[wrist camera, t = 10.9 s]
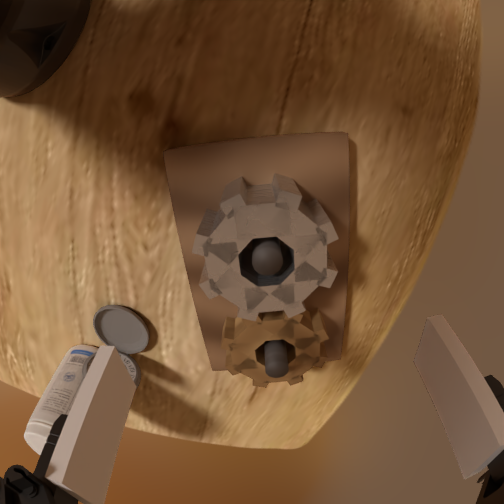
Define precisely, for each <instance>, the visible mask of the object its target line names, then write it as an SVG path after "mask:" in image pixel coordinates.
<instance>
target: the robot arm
mask: <svg viewBox="0 0 504 504" xmlns="http://www.w3.org/2000/svg"><path fill="white" fill-rule="evenodd" d="M90 1H91V0H0V98H1V97H12V96H19V95H22V94H25V93H28V92H30V91H32V90H33V89H35V88H37V87H38V86H39V85H41V84H42V83H43V82H45V81H46V80H47V79H48V78H49V77H50V76H51V75H52V74H53V73H54V72H55V71H56V70H57V69H58V68H59V66H60V65H61V64H62V63H63V61H64V60H65V59H66V57H67V56H68V55H69V53H70V52H71V50H72V48H73V47H74V45H75V43H76V41H77V40H78V38H79V36H80V33H81V31H82V29H83V27H84V24H85V21H86V18H87V15H88V12H89V7H90ZM414 364H415V366H416V368H417V370H418V372H419V374H420V376H421V378H422V380H423V382H424V384H425V386H426V389H427V391H428V393H429V395H430V397H431V399H432V402H433V404H434V406H435V408H436V411H437V413H438V415H439V417H440V419H441V422H442V424H443V427H444V429H445V431H446V434H447V436H448V439H449V441H450V444H451V446H452V449H453V451H454V454H455V456H456V459H457V461H458V464H459V467H460V470H461V472H462V474H463V478H464V479H466V478H469V477H471V476H473V475H475V474H477V473H479V472H480V471H482V470H483V469H484V468H485V467H486V466H488V469H489V470H488V471H487V472H486V473H484V474H483V475H482V476H481V477H480V478H479V479H478V481H477V483H479V482H481V481H482V480H483V479H484V482H483V483H482V484H483V485H482V488H481V491H480V494H479V496H478V499H477V502H476V504H504V388H503V386H502V385H501V383H500V382H499V381H498V380H497V379H495V378H494V377H493V376H492V375H489V376H487V377H483V375H482V374H481V372H480V370H479V369H478V367H477V366H476V364H475V362H474V361H473V360H472V358H471V356H470V355H469V353H468V352H467V350H466V349H465V347H464V346H463V344H462V342H461V341H460V340H459V338H458V337H457V335H456V334H455V332H454V331H453V329H452V328H451V326H450V325H449V324H448V322H447V321H446V319H445V318H444V317H443V315H442V314H440V315H435V316H430V317H427V320H426V324H425V328H424V331H423V334H422V337H421V340H420V343H419V346H418V350H417V353H416V356H415V358H414ZM135 390H136V385H135V383H134V381H133V380H132V378H131V376H130V374H129V372H128V370H127V369H126V367H125V365H124V363H123V361H122V359H121V357H120V355H119V353H118V351H117V349H116V347H115V346H100V347H99V349H98V351H97V353H96V355H95V357H94V359H93V362H92V364H91V366H90V368H89V370H88V372H87V374H86V376H85V378H84V381H83V383H82V385H81V387H80V389H79V392H78V394H77V396H76V398H75V401H74V403H73V405H72V408H71V410H70V412H69V415H66V414H61V415H60V416H59V417H58V418H57V420H56V421H55V422H54V423H53V426H52V428H51V430H50V435H48V438H47V440H46V443H45V445H44V448H43V450H42V453H41V455H40V458H39V460H38V464H37V466H36V469H35V471H34V473H33V474H32V473H31V472H29V471H28V470H27V469H25V468H24V467H23V466H21V465H13V466H11V467H10V468H8V470H7V471H6V472H5V475H4V479H3V478H1V477H0V504H78V500H79V501H80V502H82V503H84V504H104V502H105V498H106V494H107V490H108V486H109V481H110V477H111V473H112V470H113V466H114V462H115V458H116V455H117V451H118V447H119V443H120V440H121V436H122V433H123V429H124V426H125V423H126V419H127V416H128V413H129V409H130V406H131V403H132V400H133V396H134V393H135Z"/></svg>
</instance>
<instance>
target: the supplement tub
mask: <svg viewBox="0 0 504 504" xmlns="http://www.w3.org/2000/svg"><path fill="white" fill-rule="evenodd" d="M98 349H99V348H97V347H94V346H90V345H76V346H74V347H72V348H70V349H69V350H68V351H67V353H66V354H65V356H64V358H63V359H62V361H61V363H60V364H59V366H58V368H57V370H56V371H55V373H54V375H53V377H52V378H51V380H50V382H49V384H48V385H47V387H46V389H45V391H44V393H43V395H42V396H41V398H40V400H39V402H38V404H37V406H36V408H35V410H34V412H33V414H32V416H31V418H30V420H29V422H28V424H27V428H26V431H25V433H24V438H25V440H26V442H27V443H28V444H29V446H30V447H31V448H32V449H33V450H34V451H35V452H36V453H38V454H39V455H41V453H42V450H43V448H44V445H45V443H46V440H47V438H48V435H50V430H51V428H52V426H53V423H54V422H55V421H56V420H57V418H58V417H59V416H60V415H61V414H66V415H69V412H70V410H71V408H72V405H73V403H74V401H75V398H76V396H77V394H78V392H79V389H80V387H81V385H82V383H83V381H84V379H83V375H82V368H83V364H84V362H85V360H86V359H87V358H88V357H89V356H90V355H92V354H93V353H95V352H97V351H98Z"/></svg>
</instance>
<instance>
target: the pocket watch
mask: <svg viewBox="0 0 504 504" xmlns="http://www.w3.org/2000/svg"><path fill="white" fill-rule="evenodd" d="M93 325H94V329H95V332H96V334H97V335H98V337H99V338H100V339H101V340H102V341H103V342H104V343H105V344H106V345H108V346H115V347H116V349H117V351H118V353H119V355H120V357H121V359H122V361H123V363H124V365H125V367H126V369H127V370H128V372H129V374H130V376H131V378H132V380H133V381H134V383H135V385H136V389H137V387H138V386H139V383H140V380H141V371H140V367H139V366H138V364H137V362H136V361H135V360H134V359H133V358H132V357H131V356H129V354H133V353H138V352H141V351H142V350H144V349H145V347H146V346H147V344H148V341H149V331H148V328H147V326H146V324H145V323H144V321H143V320H142V319H141V318H140V317H139V316H138V315H137V314H136V313H135V312H133V311H131V310H130V309H128V308H125V307H122V306H118V305H107V306H104V307H102V308H100V309H99V310H98V311H97V312H96V314H95V316H94V319H93ZM96 353H97V352H95V353H93V354H92V355H90V356H89V357H88V358H87V359H86V360H85V362H84V364H83V368H82V375H83V379H84V378H85V376H86V374H87V372H88V370H89V368H90V366H91V364H92V362H93V359H94V357H95V355H96Z"/></svg>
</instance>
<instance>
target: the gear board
mask: <svg viewBox="0 0 504 504" xmlns="http://www.w3.org/2000/svg"><path fill="white" fill-rule="evenodd" d="M163 156H164V162H165V168H166V173H167V179H168V184H169V190H170V195H171V200H172V206H173V211H174V216H175V221H176V225H177V230H178V235H179V240H180V244H181V249H182V253H183V258H184V262H185V267H186V271H187V275H188V279H189V284H190V288H191V292H192V296H193V300H194V304H195V308H196V312H197V316H198V320H199V323H200V327H201V331H202V335H203V338H204V342H205V346H206V349H207V353H208V356H209V360H210V364H211V367H212V370H213V371H222V370H228V371H229V372H230V373H231V374H232V375H236V374H239V373H242V374H244V375H246V376H248V377H250V378H252V379H253V386H259V387H265V388H266V387H267V385H268V383H271V382H282V381H287V382H288V383H289V384H290V385H294V384H296V383H299V382H302V381H303V374H304V373H305V372H307V371H308V370H309V369H311V368H312V367H313V366H315V367H322V366H323V364H324V363H325V361H332V360H339V359H341V352H342V342H343V333H344V322H345V310H346V297H347V281H348V262H349V232H350V172H349V143H348V133H345V132H321V133H301V134H286V135H273V136H262V137H252V138H242V139H233V140H225V141H217V142H210V143H203V144H196V145H190V146H184V147H178V148H172V149H167V150H165V151H163ZM274 173H276V174H280V175H283V176H286V177H289V178H292V179H293V181H294V182H295V184H296V186H297V188H298V190H299V191H300V193H301V195H302V200H303V201H304V202H305V203H308V202H310V201H312V200H314V199H317V201H318V202H319V204H320V205H321V207H322V208H323V210H324V211H325V213H326V214H327V216H328V217H329V219H330V220H331V223H332V225H333V227H334V229H335V231H336V234H337V236H338V238H339V239H338V240H335V241H333V242H331V243H329V244H327V250H328V252H329V254H330V256H331V258H332V260H333V262H334V264H335V266H336V268H337V270H338V273H337V275H336V277H335V279H334V281H333V283H332V285H331V287H330V288H327V287H323V286H318V287H317V288H316V289H315V290H314V291H313V292H312V293H311V294H310V295H309V296H308V297H307V298H306V299H305V300H304V304H305V308H306V311H304V312H302V313H300V314H298V315H295V316H293V317H291V318H288V316H287V315H286V313H285V311H284V310H281V311H270V312H259V314H258V316H257V319H256V321H252V320H247V319H243V318H239V317H237V312H238V306H236V305H235V304H233V303H231V302H230V301H228V300H227V299H225V298H224V297H222V296H221V295H218V296H216V297H214V298H212V299H210V300H209V298H208V297H207V296H206V294H205V293H204V291H203V290H202V289H201V287H200V286H199V281H200V278H201V274H202V271H203V267H204V264H205V257H204V256H201V255H198V254H194V253H192V249H193V245H194V241H195V236H196V233H197V230H198V228H199V226H200V223H201V221H202V219H203V216H204V214H205V212H206V210H207V209H208V210H212V211H216V212H218V210H219V209H220V208H221V207H220V205H219V203H220V200H221V198H222V195H223V192H224V189H225V186H226V185H227V184H228V183H230V182H232V181H234V180H236V179H238V178H240V177H241V176H242V177H243V179H244V181H245V182H246V184H247V186H251V185H261V184H271V182H272V179H273V176H274ZM283 244H284V242H283V241H282V240H280V239H279V238H278V237H276V236H275V237H265V238H254V239H252V240H251V241H250V242H249V243H248V244H247V247H248V248H249V249H251V250H252V265H253V268H254V269H255V271H256V272H258V273H259V274H261V275H273V274H275V273H277V272H278V271H279V270H280V269H281V267H282V265H283V259H282V253H281V248H280V247H281V246H282V245H283Z"/></svg>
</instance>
